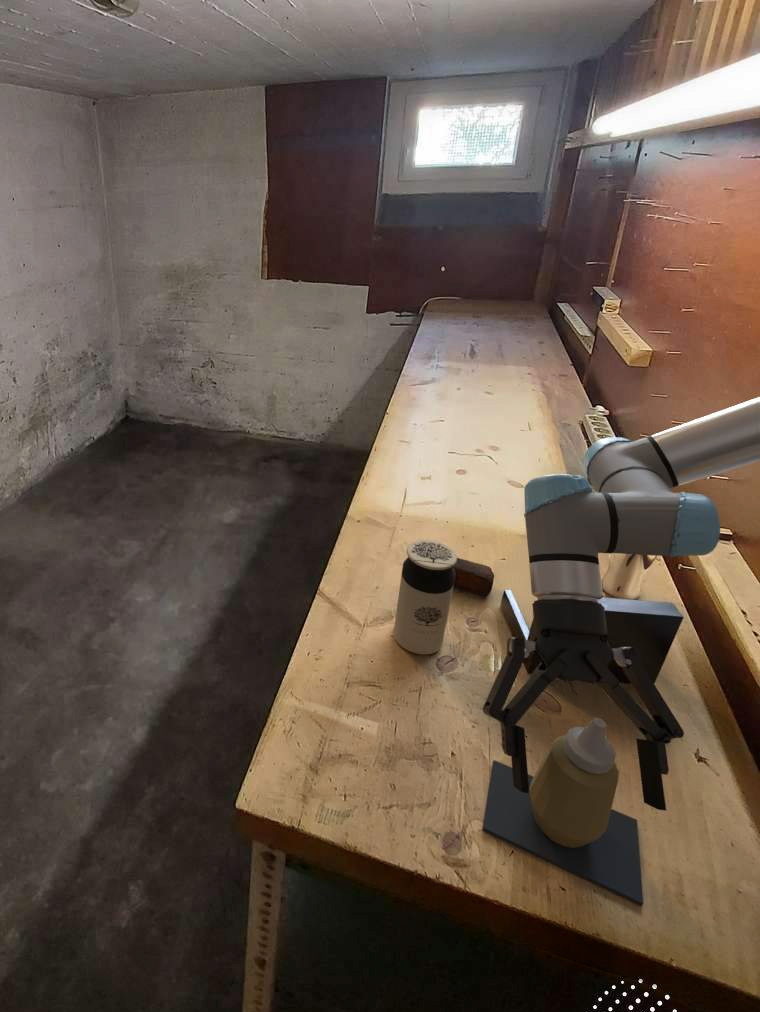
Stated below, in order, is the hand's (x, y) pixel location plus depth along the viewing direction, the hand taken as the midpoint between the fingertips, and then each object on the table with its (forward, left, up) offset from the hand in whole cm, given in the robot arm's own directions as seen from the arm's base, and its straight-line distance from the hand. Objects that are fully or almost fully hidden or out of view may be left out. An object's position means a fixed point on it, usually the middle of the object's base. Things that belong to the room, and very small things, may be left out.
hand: (586, 798), depth 62 cm
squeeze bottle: (+1, -2, -9) cm, 9 cm away
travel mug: (+23, -25, -9) cm, 35 cm away
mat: (+1, -2, -9) cm, 10 cm away
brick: (+19, -43, -9) cm, 48 cm away
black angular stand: (0, -36, -9) cm, 37 cm away
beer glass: (-7, -55, -9) cm, 56 cm away
